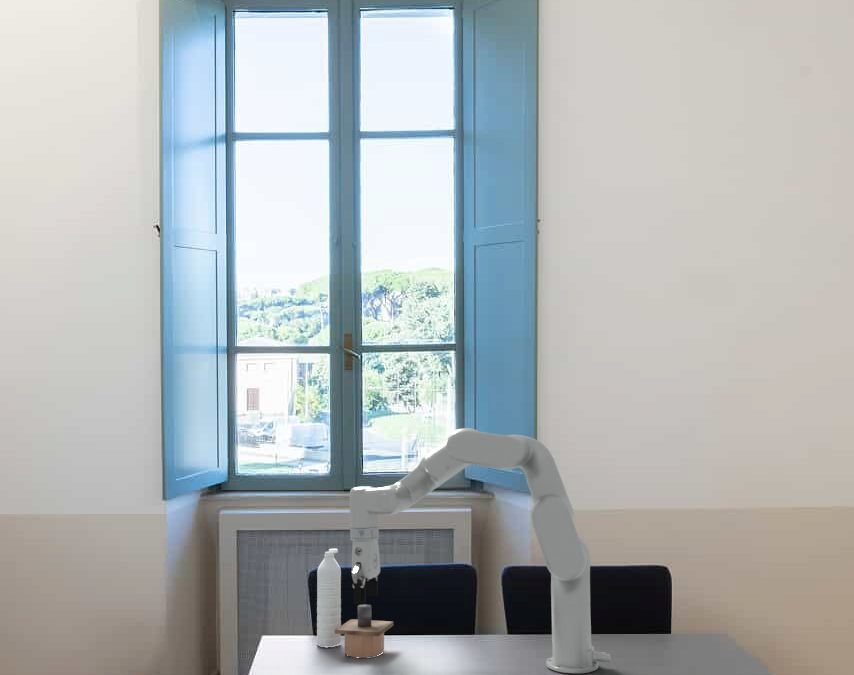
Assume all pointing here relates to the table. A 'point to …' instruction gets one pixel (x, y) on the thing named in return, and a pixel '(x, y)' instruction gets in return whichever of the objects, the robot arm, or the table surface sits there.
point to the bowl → (364, 645)
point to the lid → (364, 624)
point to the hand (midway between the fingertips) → (365, 599)
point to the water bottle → (328, 600)
